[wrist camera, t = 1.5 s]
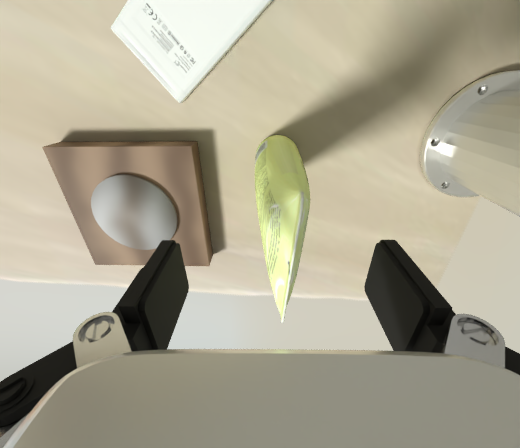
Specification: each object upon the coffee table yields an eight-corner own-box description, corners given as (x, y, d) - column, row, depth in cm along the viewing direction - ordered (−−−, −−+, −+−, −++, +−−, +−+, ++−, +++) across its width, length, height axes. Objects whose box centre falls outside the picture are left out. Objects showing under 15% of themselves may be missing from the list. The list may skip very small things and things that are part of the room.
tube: (310, 165, 28) (370, 285, 11) (275, 189, 30) (281, 326, 13) (281, 123, 26) (304, 197, 9) (245, 152, 28) (208, 259, 11)
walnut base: (197, 141, 27) (189, 147, 25) (212, 254, 35) (208, 268, 33) (59, 142, 28) (38, 148, 25) (105, 253, 36) (93, 266, 33)
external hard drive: (273, 1, 22) (183, 102, 26) (206, -105, 19) (117, 29, 23) (274, -5, 20) (179, 103, 25) (201, -120, 17) (107, 26, 22)
